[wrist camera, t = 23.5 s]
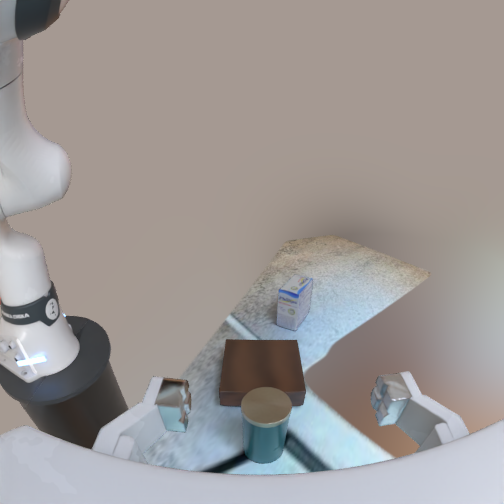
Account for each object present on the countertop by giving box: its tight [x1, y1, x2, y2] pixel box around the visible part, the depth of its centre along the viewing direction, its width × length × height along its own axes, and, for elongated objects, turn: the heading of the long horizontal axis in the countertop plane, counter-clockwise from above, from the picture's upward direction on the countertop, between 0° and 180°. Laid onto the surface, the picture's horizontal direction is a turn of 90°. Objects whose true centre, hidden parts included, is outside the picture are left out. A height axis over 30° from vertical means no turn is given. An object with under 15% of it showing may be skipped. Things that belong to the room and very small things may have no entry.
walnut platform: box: [219, 339, 306, 406], centre depth 43 cm, size 12×12×4 cm
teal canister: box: [241, 387, 292, 464], centre depth 30 cm, size 5×5×10 cm
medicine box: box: [277, 274, 313, 331], centre depth 59 cm, size 8×4×9 cm, turn 150°
